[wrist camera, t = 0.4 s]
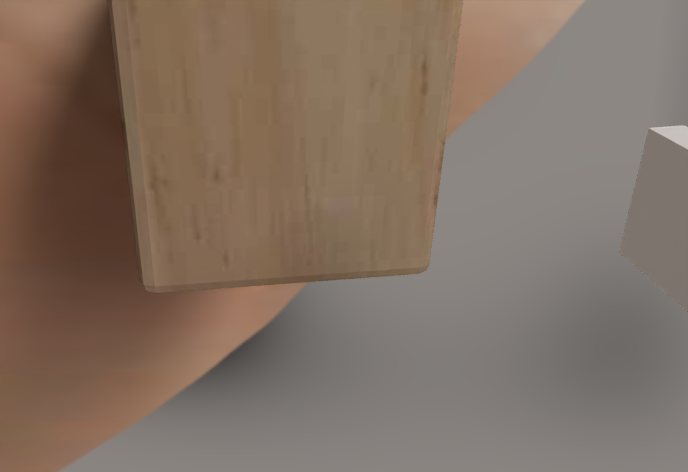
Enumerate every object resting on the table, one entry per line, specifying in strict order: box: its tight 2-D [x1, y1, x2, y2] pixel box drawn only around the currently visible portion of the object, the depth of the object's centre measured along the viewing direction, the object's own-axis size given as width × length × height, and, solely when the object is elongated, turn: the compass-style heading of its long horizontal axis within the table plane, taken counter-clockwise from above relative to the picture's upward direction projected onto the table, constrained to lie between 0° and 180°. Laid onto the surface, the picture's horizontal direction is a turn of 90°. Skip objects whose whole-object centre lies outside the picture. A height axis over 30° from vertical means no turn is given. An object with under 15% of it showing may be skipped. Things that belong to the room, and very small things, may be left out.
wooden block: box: [107, 0, 463, 293], centre depth 29 cm, size 10×10×20 cm
